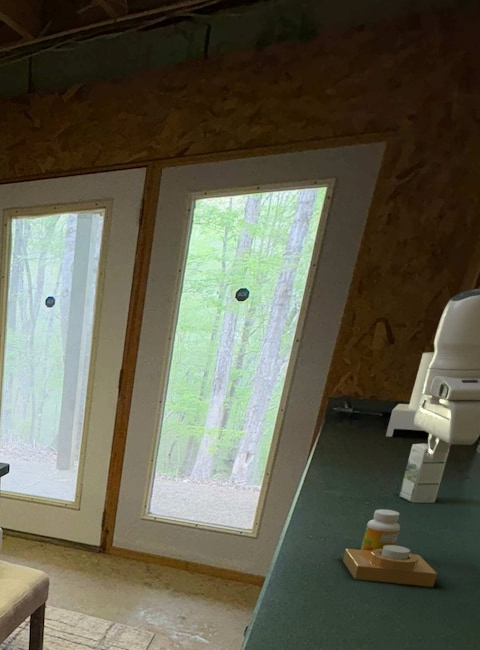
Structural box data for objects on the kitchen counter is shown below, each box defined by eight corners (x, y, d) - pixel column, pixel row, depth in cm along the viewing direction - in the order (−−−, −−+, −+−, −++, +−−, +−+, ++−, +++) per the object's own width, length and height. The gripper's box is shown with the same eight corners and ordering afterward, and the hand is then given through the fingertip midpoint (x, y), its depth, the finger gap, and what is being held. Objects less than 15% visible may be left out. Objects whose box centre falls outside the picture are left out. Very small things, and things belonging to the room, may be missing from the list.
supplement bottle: (354, 551, 134) (365, 507, 130) (383, 552, 132) (395, 508, 129) (367, 560, 129) (379, 515, 125) (397, 561, 128) (409, 516, 124)
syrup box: (435, 503, 162) (452, 447, 157) (410, 502, 163) (425, 447, 158) (422, 497, 167) (437, 443, 162) (397, 496, 168) (411, 443, 163)
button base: (414, 569, 123) (421, 546, 122) (433, 590, 115) (441, 565, 113) (342, 563, 128) (347, 540, 126) (354, 582, 119) (360, 557, 117)
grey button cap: (403, 554, 119) (406, 546, 118) (410, 562, 116) (413, 553, 115) (378, 552, 121) (380, 544, 120) (384, 559, 117) (386, 551, 117)
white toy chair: (453, 433, 241) (477, 351, 230) (449, 441, 228) (475, 355, 217) (392, 428, 253) (412, 351, 242) (385, 436, 240) (406, 354, 229)
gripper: (414, 378, 123) (397, 447, 128) (454, 391, 106) (433, 471, 111) (454, 377, 121) (435, 448, 126) (502, 390, 104) (478, 472, 109)
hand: (434, 459), depth 118 cm, fingers closed
